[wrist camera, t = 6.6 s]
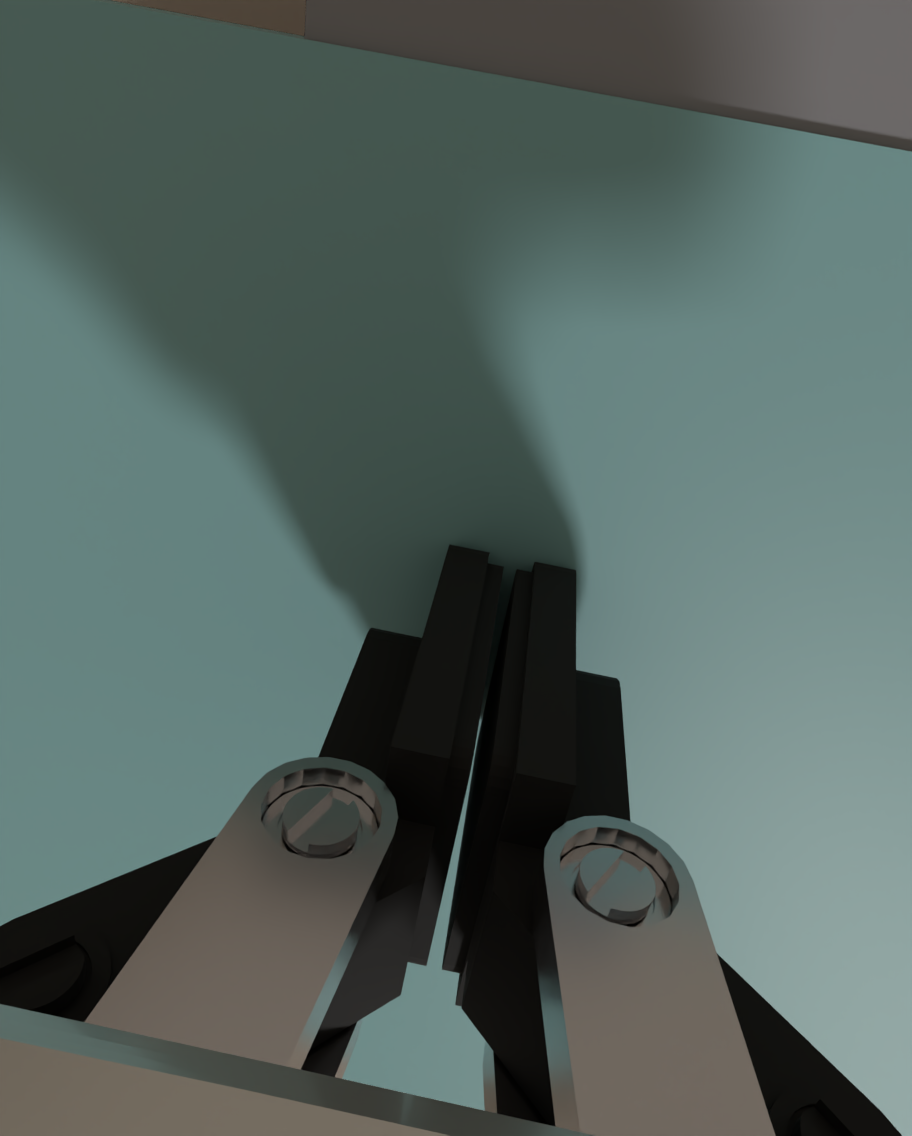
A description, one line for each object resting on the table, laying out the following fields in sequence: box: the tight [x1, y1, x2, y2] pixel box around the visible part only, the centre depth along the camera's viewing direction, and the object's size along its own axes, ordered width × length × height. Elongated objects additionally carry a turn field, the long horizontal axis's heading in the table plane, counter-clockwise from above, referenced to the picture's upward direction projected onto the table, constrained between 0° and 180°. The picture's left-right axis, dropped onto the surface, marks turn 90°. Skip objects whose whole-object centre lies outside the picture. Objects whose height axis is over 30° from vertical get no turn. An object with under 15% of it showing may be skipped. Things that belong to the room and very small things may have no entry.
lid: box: [0, 0, 912, 1136], centre depth 13 cm, size 20×22×1 cm
